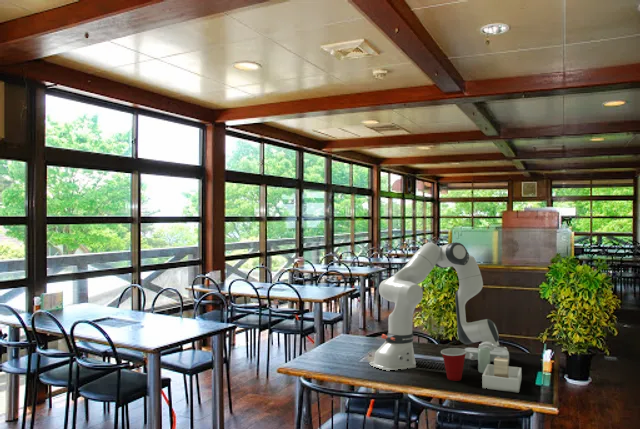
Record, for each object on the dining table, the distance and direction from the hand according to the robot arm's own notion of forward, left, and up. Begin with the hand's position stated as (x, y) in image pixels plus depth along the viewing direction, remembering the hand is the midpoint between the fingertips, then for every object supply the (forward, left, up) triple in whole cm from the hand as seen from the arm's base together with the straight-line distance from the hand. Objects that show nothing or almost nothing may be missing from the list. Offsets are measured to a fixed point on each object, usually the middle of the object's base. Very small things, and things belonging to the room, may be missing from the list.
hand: (483, 359), depth 222 cm
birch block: (-11, -17, -5) cm, 20 cm away
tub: (-7, -15, -6) cm, 17 cm away
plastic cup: (-18, +1, -6) cm, 19 cm away
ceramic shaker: (+1, 0, -6) cm, 6 cm away
